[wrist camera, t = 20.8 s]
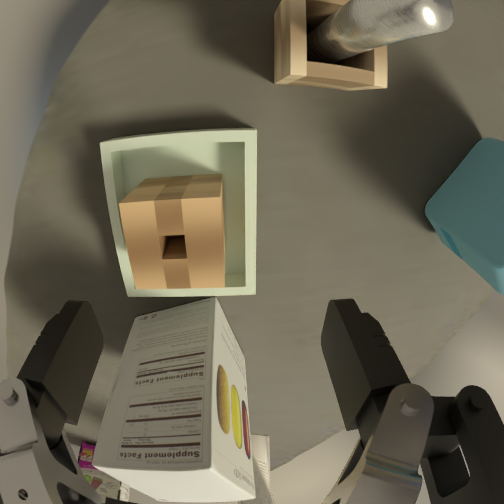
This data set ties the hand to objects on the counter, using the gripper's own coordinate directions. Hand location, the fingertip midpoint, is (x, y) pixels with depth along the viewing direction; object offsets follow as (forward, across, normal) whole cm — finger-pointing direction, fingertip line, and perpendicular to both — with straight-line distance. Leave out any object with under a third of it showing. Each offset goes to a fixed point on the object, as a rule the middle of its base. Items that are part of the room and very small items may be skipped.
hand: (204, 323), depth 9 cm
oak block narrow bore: (+14, +3, +2) cm, 15 cm away
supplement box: (+15, +4, +16) cm, 22 cm away
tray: (+15, +3, +2) cm, 15 cm away
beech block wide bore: (+15, -7, -11) cm, 20 cm away
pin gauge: (+15, -7, -11) cm, 20 cm away
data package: (+16, -24, -1) cm, 29 cm away
